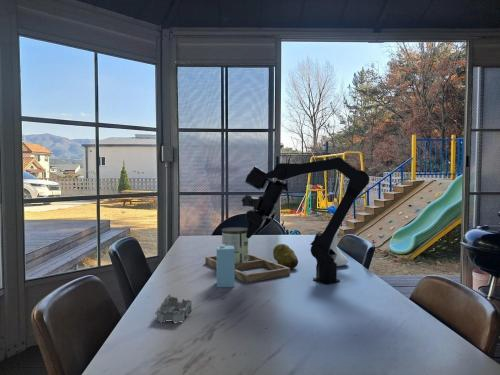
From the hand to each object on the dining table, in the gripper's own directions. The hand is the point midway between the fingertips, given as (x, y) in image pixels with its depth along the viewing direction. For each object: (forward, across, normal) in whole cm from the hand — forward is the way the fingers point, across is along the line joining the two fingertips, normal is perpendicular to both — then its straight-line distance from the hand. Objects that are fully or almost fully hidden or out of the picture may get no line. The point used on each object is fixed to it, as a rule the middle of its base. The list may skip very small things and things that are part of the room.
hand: (251, 235), depth 138 cm
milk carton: (+14, +14, +2) cm, 20 cm away
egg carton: (+15, +43, +1) cm, 46 cm away
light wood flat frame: (+14, -6, +2) cm, 16 cm away
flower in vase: (+1, -24, +29) cm, 38 cm away
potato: (+9, -15, +14) cm, 22 cm away
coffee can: (+17, -11, -3) cm, 20 cm away
